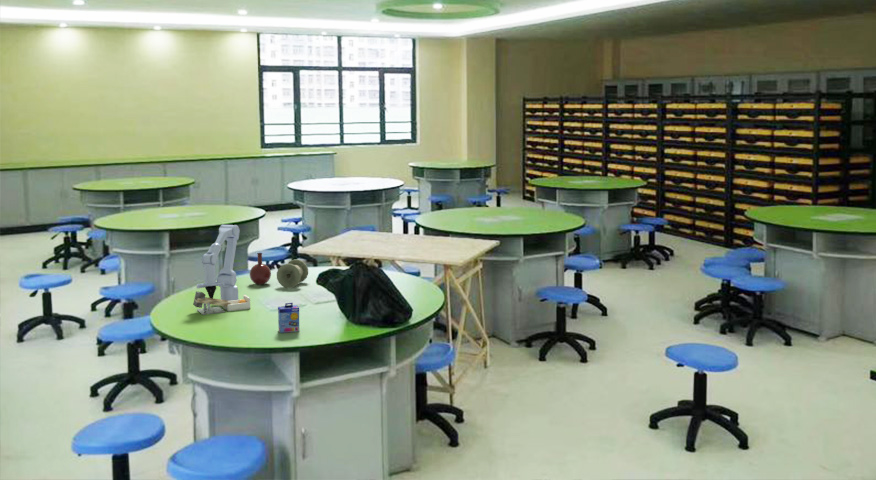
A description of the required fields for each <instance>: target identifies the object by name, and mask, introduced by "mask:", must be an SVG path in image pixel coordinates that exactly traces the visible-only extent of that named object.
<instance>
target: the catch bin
mask: <svg viewBox="0 0 876 480" xmlns="http://www.w3.org/2000/svg"><path fill="white" fill-rule="evenodd" d="M242 295H243V296H242V297H243V298H242V299H243V300H245V301H246V303H239V301H240V300H242V299H241V298H239V299H238V300H232V301H228V302H229V303H231V304H230V305H227V307H226V306H222V309H223V310H224V311H227V312H233V311H240V310H241V311H242V310H250V309H251V298H250V297H249V296H248V295H246V294H242Z"/></svg>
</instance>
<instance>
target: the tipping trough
mask: <svg viewBox="0 0 876 480" xmlns="http://www.w3.org/2000/svg"><path fill="white" fill-rule="evenodd" d="M203 303H204V304H206V305H207V303H210V305H212V306H218V307H223V306H226V307H227V305H230V304H231V303H229V302H228V300H221V298H214V297H213V298H209V297H206V294H205V293H204V291H203V292H202V291H195V295H194V298H193V303H192V305H193V306H194V307H195V308H198V309H203V308H202V307H203Z"/></svg>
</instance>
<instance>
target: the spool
mask: <svg viewBox="0 0 876 480" xmlns="http://www.w3.org/2000/svg"><path fill="white" fill-rule="evenodd" d="M308 276H309V268H308V265H307V264H306V263H305V261H303V260H300V259H292V260H289V261H288V262H287V263H285V264H282V265H280V267H278V269H277V271H276V280H277V283H279V285H281V286H282V287H283V288H285V289H292V288H294V287H296V286H298V285H299V284H300V283H303V282H304V281H305V280H306V279H307V278H308ZM299 282H300V283H299Z"/></svg>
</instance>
